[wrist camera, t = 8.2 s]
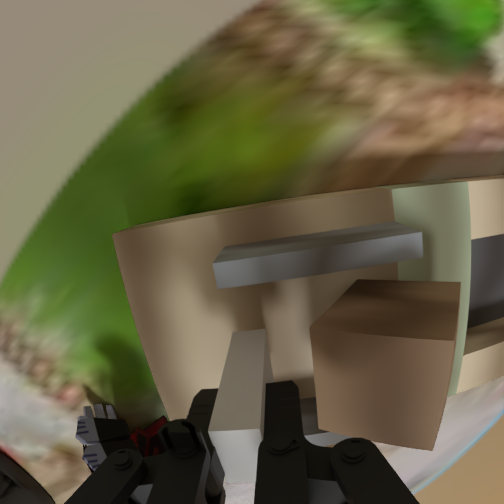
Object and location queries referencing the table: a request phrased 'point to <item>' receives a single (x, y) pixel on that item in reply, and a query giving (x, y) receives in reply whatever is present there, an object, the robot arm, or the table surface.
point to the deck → (310, 279)
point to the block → (386, 360)
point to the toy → (114, 436)
